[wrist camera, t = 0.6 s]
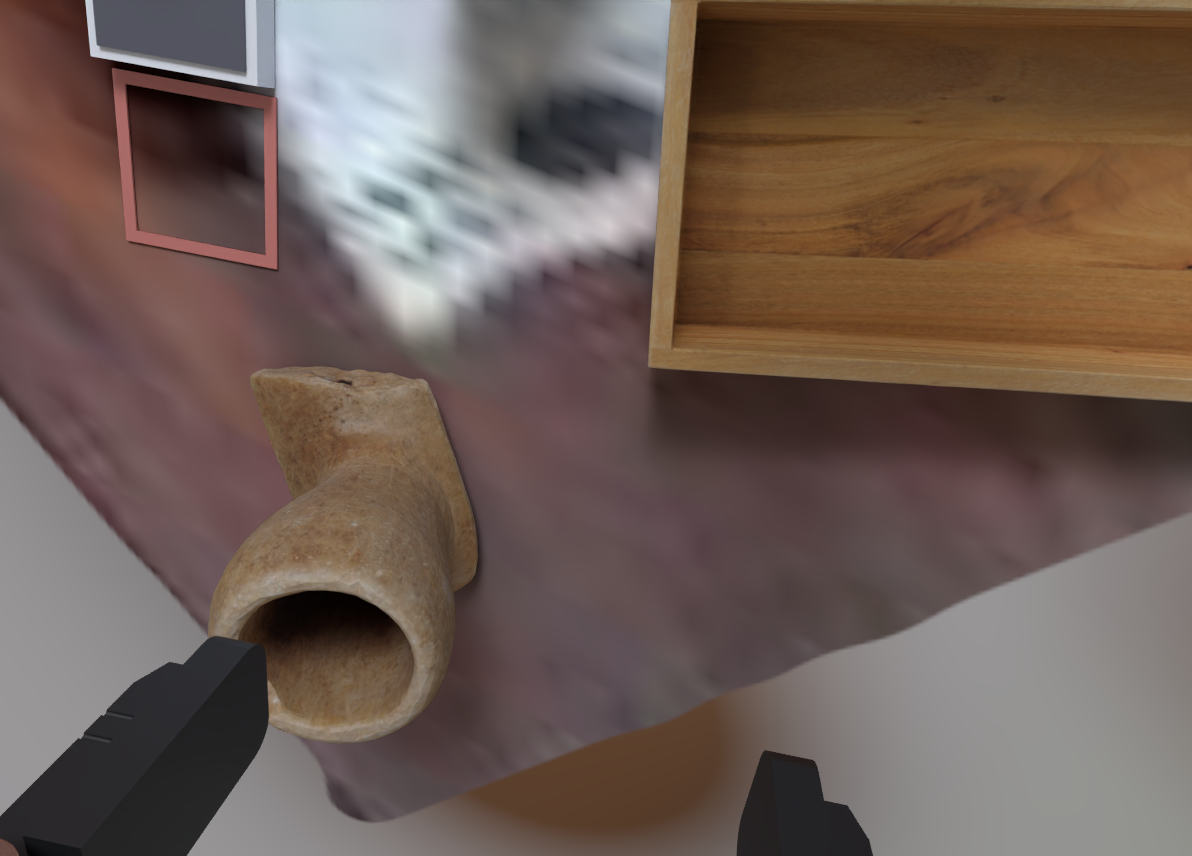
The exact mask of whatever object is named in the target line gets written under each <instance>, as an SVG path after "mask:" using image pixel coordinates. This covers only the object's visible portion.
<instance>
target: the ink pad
mask: <svg viewBox="0 0 1192 856" xmlns="http://www.w3.org/2000/svg"><path fill="white" fill-rule="evenodd" d="M85 1H86V11H87V22H88V32H89V43H90V53H91V56H93V57H99V58H104V59H110V60H115V61H121V62H126V63H132V64H137V65H143V66H148V67H154V68H159V69H165V70H170V71H176V72H181V73H187V74H192V75H198V76H203V77H209V78H214V79H220V80H225V81H231V82H236V83H242V84H247V85H253V86H259V87H267V88H275V32H274V0H85Z"/></svg>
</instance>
